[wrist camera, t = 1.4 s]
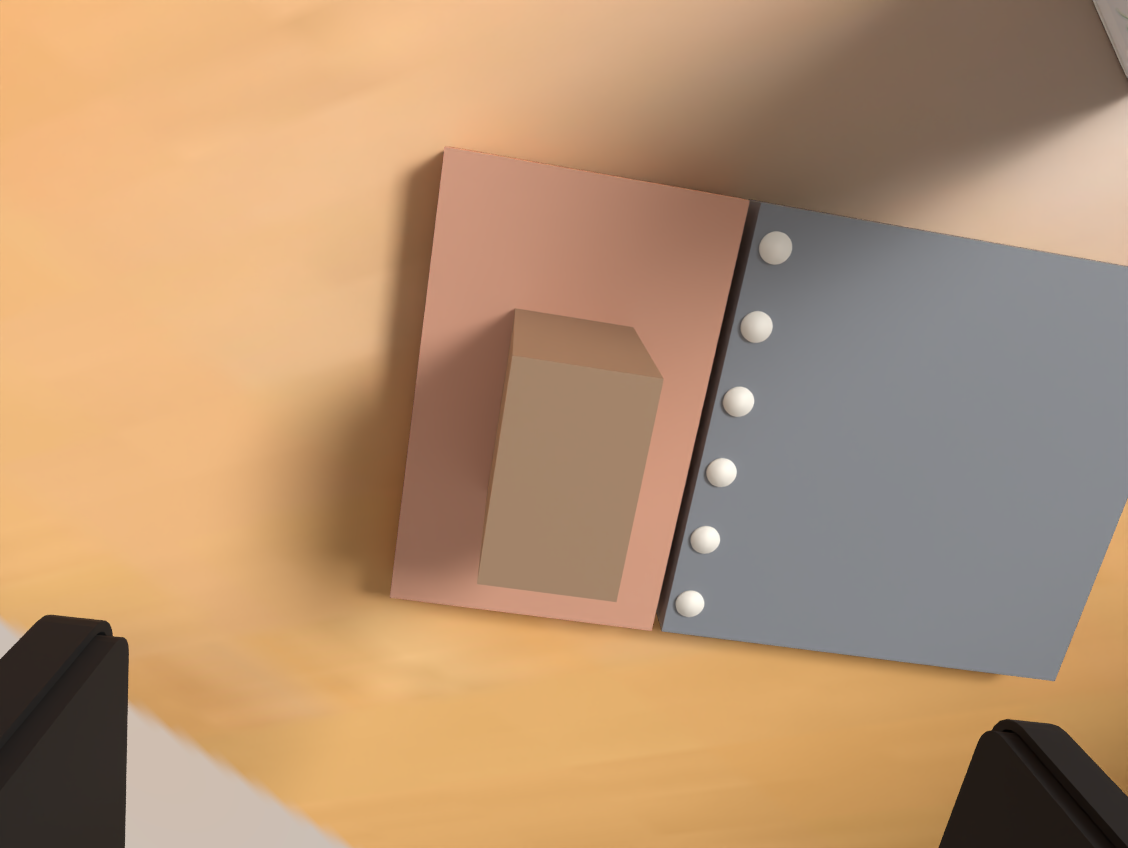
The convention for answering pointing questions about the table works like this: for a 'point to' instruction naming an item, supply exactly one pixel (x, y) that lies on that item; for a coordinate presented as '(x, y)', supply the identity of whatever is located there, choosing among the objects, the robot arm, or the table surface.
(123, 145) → the table surface
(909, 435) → the grey dotted square slab
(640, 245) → the pink slab with block
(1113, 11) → the syrup box
